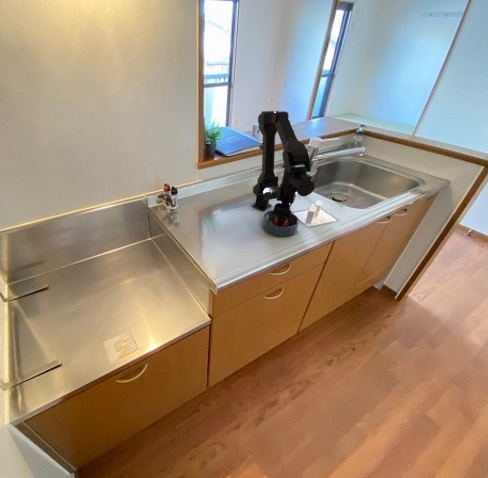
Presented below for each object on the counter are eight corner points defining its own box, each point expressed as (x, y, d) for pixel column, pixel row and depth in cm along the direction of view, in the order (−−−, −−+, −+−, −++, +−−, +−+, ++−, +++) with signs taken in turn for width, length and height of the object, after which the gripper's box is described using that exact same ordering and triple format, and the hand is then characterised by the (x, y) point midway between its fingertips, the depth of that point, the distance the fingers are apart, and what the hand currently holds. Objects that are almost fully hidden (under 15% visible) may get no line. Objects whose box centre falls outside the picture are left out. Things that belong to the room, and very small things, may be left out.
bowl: (273, 215, 116) (275, 206, 114) (302, 227, 109) (305, 218, 106) (256, 227, 109) (257, 218, 106) (285, 241, 101) (288, 231, 99)
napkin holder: (308, 227, 109) (312, 214, 106) (291, 213, 118) (294, 201, 114) (337, 220, 113) (342, 208, 110) (318, 207, 122) (322, 196, 119)
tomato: (277, 221, 111) (279, 210, 108) (288, 226, 109) (291, 215, 106) (270, 226, 109) (272, 215, 106) (281, 231, 106) (284, 220, 103)
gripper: (271, 170, 107) (265, 205, 116) (261, 190, 93) (255, 227, 102) (301, 175, 103) (292, 211, 113) (295, 196, 90) (285, 234, 99)
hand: (281, 220), depth 107 cm, fingers open, 9 cm apart
